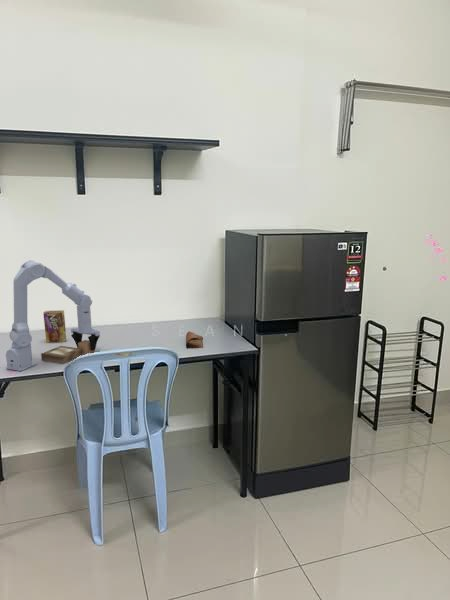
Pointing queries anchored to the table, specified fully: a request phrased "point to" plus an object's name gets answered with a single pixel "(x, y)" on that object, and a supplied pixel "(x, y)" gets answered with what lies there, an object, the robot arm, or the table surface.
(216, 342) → the table surface
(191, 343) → the sunglasses case
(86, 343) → the cube
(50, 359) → the plinth
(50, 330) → the candy box
